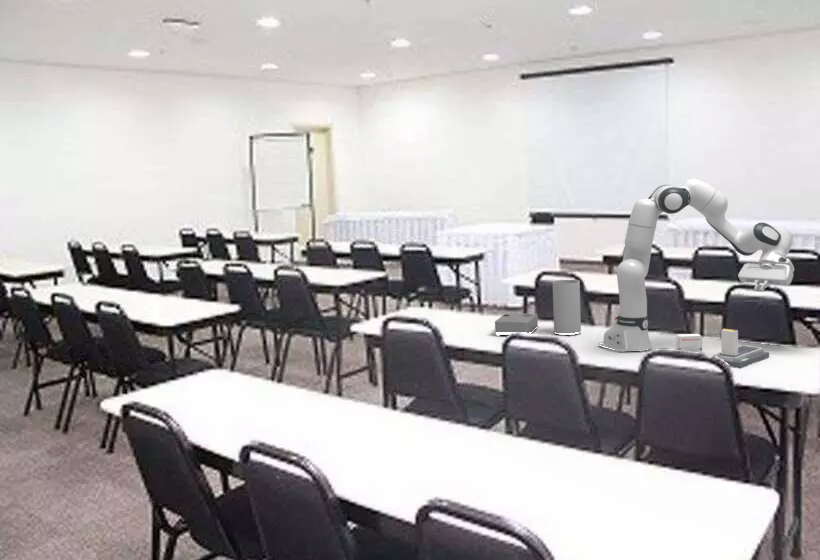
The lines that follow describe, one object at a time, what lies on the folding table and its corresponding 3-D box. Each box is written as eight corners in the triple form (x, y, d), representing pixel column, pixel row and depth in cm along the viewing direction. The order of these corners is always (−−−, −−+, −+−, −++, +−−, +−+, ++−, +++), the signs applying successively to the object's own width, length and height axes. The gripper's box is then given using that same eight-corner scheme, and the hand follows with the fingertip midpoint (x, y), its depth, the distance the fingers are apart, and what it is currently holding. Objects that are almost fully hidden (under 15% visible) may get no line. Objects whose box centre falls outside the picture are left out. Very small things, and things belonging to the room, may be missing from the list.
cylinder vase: (559, 330, 361) (557, 279, 358) (584, 331, 355) (582, 280, 352) (550, 335, 350) (548, 283, 347) (576, 336, 344) (575, 283, 341)
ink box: (699, 363, 286) (699, 333, 285) (702, 366, 281) (702, 335, 280) (676, 363, 287) (675, 333, 286) (679, 366, 282) (679, 336, 281)
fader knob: (719, 357, 284) (719, 329, 283) (724, 355, 287) (724, 327, 285) (734, 359, 279) (734, 331, 278) (739, 357, 282) (739, 329, 280)
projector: (538, 328, 369) (537, 313, 368) (528, 338, 349) (528, 321, 348) (505, 328, 375) (505, 312, 374) (494, 337, 355) (493, 321, 354)
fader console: (707, 362, 286) (707, 354, 285) (737, 352, 299) (737, 344, 299) (740, 368, 276) (740, 359, 275) (769, 357, 289) (769, 348, 289)
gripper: (742, 257, 305) (730, 283, 300) (793, 259, 289) (781, 287, 284) (748, 266, 308) (736, 293, 303) (798, 269, 292) (786, 297, 287)
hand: (758, 290), depth 293 cm, fingers closed
